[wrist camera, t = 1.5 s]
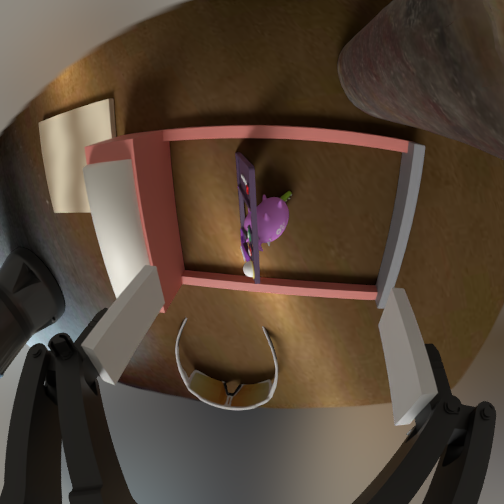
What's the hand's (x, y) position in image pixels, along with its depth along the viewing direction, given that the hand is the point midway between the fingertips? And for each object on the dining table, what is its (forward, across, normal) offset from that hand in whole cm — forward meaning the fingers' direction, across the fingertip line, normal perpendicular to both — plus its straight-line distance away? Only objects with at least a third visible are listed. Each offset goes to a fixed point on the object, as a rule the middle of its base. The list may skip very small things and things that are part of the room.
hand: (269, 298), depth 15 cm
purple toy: (+12, -2, +1) cm, 12 cm away
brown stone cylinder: (+12, +7, +13) cm, 19 cm away
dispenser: (+12, -2, 0) cm, 12 cm away
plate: (+11, -23, +6) cm, 26 cm away
